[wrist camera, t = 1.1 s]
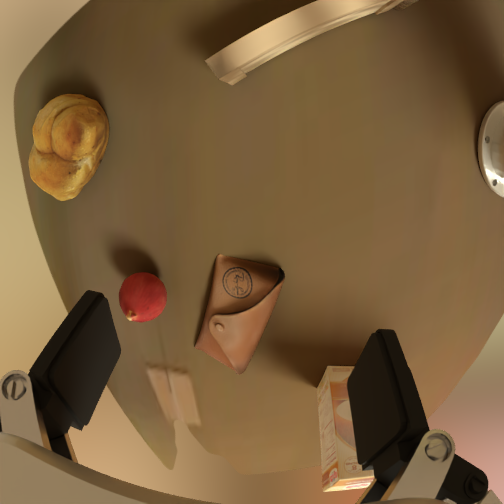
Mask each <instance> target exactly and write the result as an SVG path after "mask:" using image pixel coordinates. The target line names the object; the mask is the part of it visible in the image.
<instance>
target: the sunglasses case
mask: <svg viewBox="0 0 504 504" xmlns="http://www.w3.org/2000/svg"><path fill="white" fill-rule="evenodd" d="M284 280H285V274H284V271H283V270H282V269H281V268H277V267H273V266H268V265H263V264H260V263H255V262H251V261H247V260H242V259H238V258H234V257H227V256H223V255H221V254H218V255H217V258H216V261H215V267H214V274H213V281H212V286H211V292H210V296H209V300H208V304H207V309H206V312H205V316H204V320H203V324H202V327H201V331H200V334H199V337H198V339H197V342H196V344H195V348H196V349H200V350H202V351H204V352H205V353H207V354H208V355H210V356H212V357H213V358H215V359H216V360H218V361H220V362H222V363H223V364H225V365H226V366H228V367H229V368H231V369H233V370H235V371H236V374H242V373H243V372H244V371H245V370H246V368H247V366H248V364H249V362H250V360H251V358H252V356H253V354H254V352H255V350H256V348H257V345H258V343H259V341H260V338H261V336H262V334H263V332H264V329H265V327H266V325H267V323H268V320H269V318H270V316H271V314H272V311H273V309H274V306H275V304H276V301H277V299H278V296H279V293H280V290H281V288H282V284H283V282H284Z"/></svg>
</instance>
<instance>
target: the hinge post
mask: <svg viewBox="0 0 504 504" xmlns="http://www.w3.org/2000/svg"><path fill="white" fill-rule="evenodd" d="M417 1H419V0H404V1H402V2H401V3H399V4H398V5H396V6H395V7H393V9H396V10H403V9H405V8H407V7H408V6H410V5H412V4H413V3H415V2H417Z"/></svg>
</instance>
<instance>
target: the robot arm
mask: <svg viewBox="0 0 504 504" xmlns="http://www.w3.org/2000/svg"><path fill="white" fill-rule="evenodd" d="M478 159H479V164H480V169H481V172H482V175H483V177H484V179H485V181H486V183H487V185H488V186H489V187H490V189H491V190H492V191H494V192H495V193H496V194H498V195H500V196H501V197H504V101H500V102H497V103H495V104H494V105H493V106H492V107H491V108H490V109H489V110H488V112H487V113H486V115H485V117H484V119H483V121H482V124H481V127H480V132H479V138H478ZM120 354H121V347H120V343H119V340H118V337H117V333H116V330H115V326H114V323H113V319H112V315H111V311H110V307H109V303H108V300H107V298H105V297H104V295H103V293H100V292H95V291H91V290H88V291H86V292H85V293H84V295H83V296H82V297H81V299H80V300H79V301H78V302H77V304H76V305H75V306H74V308H73V309H72V310H71V312H70V313H69V314H68V316H67V317H66V318H65V320H64V321H63V322H62V324H61V325H60V327H59V328H58V329H57V331H56V332H55V333H54V335H53V336H52V338H51V339H50V340H49V342H48V343H47V345H46V346H45V348H44V349H43V351H42V352H41V354H40V355H39V357H38V358H37V360H36V361H35V363H34V364H33V366H32V367H31V369H30V372H29V374H28V375H27V374H26V373H25V372H23V371H20V370H13V371H10V372H8V373H7V374H6V375H4V376H3V378H2V379H1V381H0V504H218V503H212V502H205V501H199V500H193V499H189V498H184V497H179V496H175V495H170V494H166V493H162V492H158V491H155V490H151V489H147V488H144V487H140V486H137V485H134V484H131V483H128V482H124V481H121V480H119V479H116V478H113V477H110V476H108V475H105V474H102V473H100V472H97V471H95V470H92V469H90V468H88V467H85V466H83V465H80V464H78V461H77V458H76V456H75V453H74V450H73V447H72V444H71V441H70V438H69V435H68V430H69V428H70V426H72V427H74V428H76V429H79V430H81V431H82V429H83V426H84V425H87V424H88V423H89V421H90V419H91V417H92V414H93V412H94V410H95V408H96V405H97V403H98V401H99V399H100V397H101V394H102V392H103V390H104V388H105V386H106V384H107V382H108V379H109V377H110V375H111V373H112V371H113V369H114V367H115V365H116V363H117V361H118V359H119V357H120ZM347 390H348V396H349V403H350V409H351V416H352V423H353V430H354V438H355V446H356V454H357V461H358V464H359V465H362V471H366V470H374V479H373V481H372V482H371V483H370V485H369V486H368V488H367V489H366V490H365V492H364V493H363V494H362V496H361V497H360V498H359V500H358V501H357V502H356V503H355V504H502V502H501V501H500V500H499V499H498V497H497V496H496V495H495V494H494V492H493V491H492V490H489V491H488V479H487V476H486V475H485V473H484V472H483V471H482V470H480V469H479V468H477V467H475V466H474V465H472V464H470V463H469V462H467V461H466V460H464V459H462V458H461V457H459V456H458V455H456V454H455V443H454V441H453V439H452V437H451V436H450V435H449V434H448V433H447V432H446V431H443V430H440V429H434V430H429V427H428V423H427V420H426V416H425V413H424V410H423V406H422V403H421V400H420V397H419V394H418V391H417V387H416V384H415V382H414V379H413V376H412V373H411V370H410V368H409V367H408V365H407V362H406V359H405V357H404V354H403V351H402V348H401V346H400V343H399V341H398V338H397V335H396V333H395V331H394V330H389V329H378V330H377V331H376V332H375V333H372V334H371V336H370V338H369V340H368V342H367V344H366V346H365V348H364V350H363V352H362V354H361V356H360V357H359V359H358V361H357V363H356V365H355V367H354V369H353V370H352V372H351V374H350V376H349V378H348V381H347Z"/></svg>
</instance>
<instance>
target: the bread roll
mask: <svg viewBox="0 0 504 504" xmlns="http://www.w3.org/2000/svg"><path fill="white" fill-rule="evenodd" d="M33 137H34V145H33V148H32V150H31V153H30V157H29V169H30V176H31V179H32V180H33V181H34V182H35V183H36V184H37V185H38V186H39V187H40V188H41V189H42V190H43V191H45V192H47V193H49V194H51V195H52V196H54V197H55V198H56V199H58V200H61V201H65V200H69V199H72V198H74V197H76V196H77V195H78V194H79V192H80V191H81V190H82V188H83V186H84V185H85V184H86V183H87V182H88V181H90V179H91V178H92V177H93V175H94V174H95V172H96V170H97V168H98V166H99V164H100V163H101V161H102V158H103V155H104V153H105V150H106V147H107V143H108V139H109V123H108V119H107V116H106V114H105V112H104V110H103V108H102V107H101V106H100V105H99V103H98V102H97V101H96V100H92V99H90V98H87V97H85V96H83V95H82V94H64V95H60V96H58V97H56V98H54V99H52V100H51V101H50V102H48V103H47V104H46V105H45V107H44V108H43V109H42V110H40V111H39V113H38V115H37V118H36V120H35V123H34V126H33Z"/></svg>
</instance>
